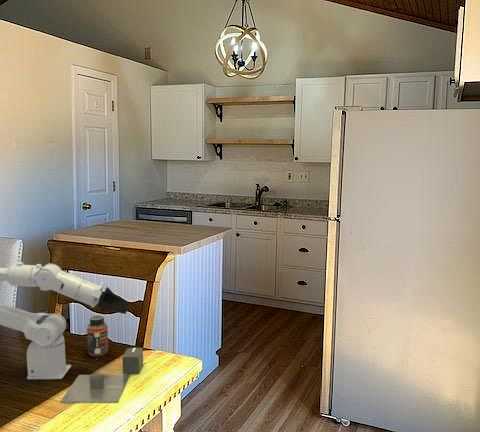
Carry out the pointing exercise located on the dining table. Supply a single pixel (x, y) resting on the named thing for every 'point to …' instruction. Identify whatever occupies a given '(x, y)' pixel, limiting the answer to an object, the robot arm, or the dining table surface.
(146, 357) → the dining table surface
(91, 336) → the supplement bottle
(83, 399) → the grey flat square slab
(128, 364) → the striped grey block
